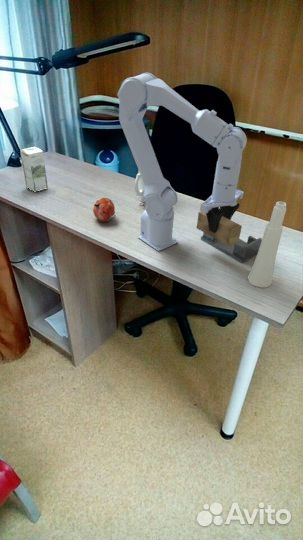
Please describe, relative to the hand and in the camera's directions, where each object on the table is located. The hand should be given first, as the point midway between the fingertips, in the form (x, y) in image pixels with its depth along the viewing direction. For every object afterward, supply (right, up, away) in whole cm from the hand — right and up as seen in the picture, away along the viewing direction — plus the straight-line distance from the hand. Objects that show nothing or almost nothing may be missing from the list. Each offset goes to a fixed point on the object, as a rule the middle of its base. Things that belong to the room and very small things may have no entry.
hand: (217, 228), depth 95 cm
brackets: (+5, -4, +9) cm, 11 cm away
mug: (-21, +14, +32) cm, 40 cm away
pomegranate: (-33, +5, +20) cm, 39 cm away
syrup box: (-60, +19, +36) cm, 73 cm away
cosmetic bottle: (+10, -14, -4) cm, 18 cm away
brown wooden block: (0, -2, +1) cm, 2 cm away
